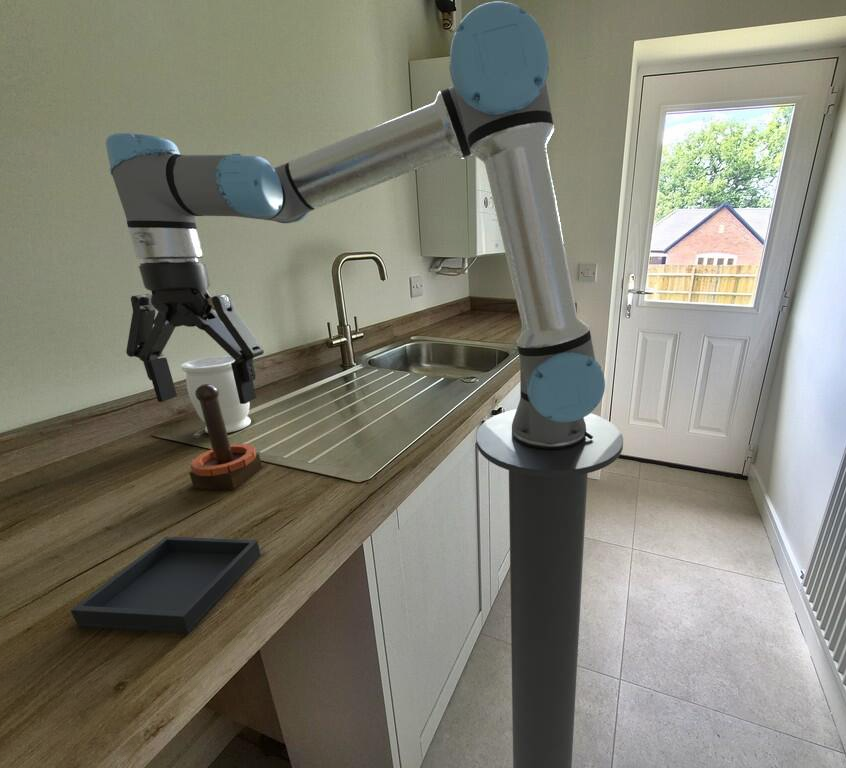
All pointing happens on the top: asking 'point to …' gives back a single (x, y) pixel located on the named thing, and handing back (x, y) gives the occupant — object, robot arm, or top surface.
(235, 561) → the tray
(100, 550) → the top surface
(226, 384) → the jar
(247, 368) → the robot arm
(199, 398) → the ring stand
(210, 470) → the ring
